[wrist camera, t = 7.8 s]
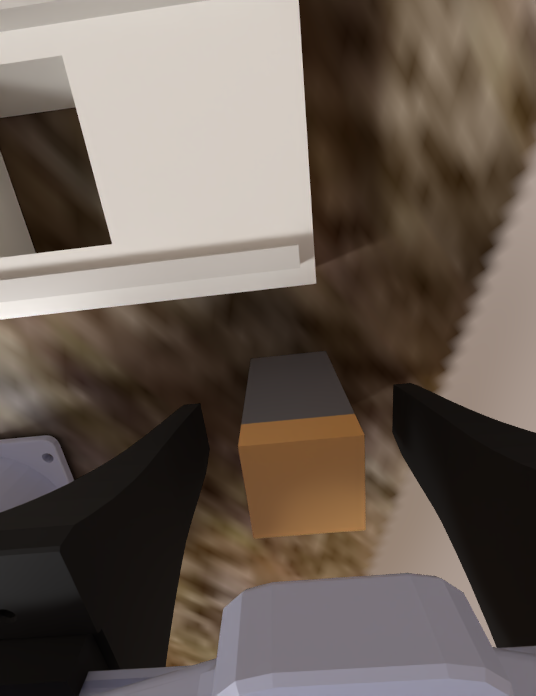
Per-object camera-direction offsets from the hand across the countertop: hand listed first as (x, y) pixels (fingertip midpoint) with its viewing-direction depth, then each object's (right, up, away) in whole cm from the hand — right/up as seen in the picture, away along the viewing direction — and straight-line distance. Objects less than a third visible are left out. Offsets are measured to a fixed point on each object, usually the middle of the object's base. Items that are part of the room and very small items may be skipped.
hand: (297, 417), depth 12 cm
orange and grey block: (0, +1, +2) cm, 3 cm away
